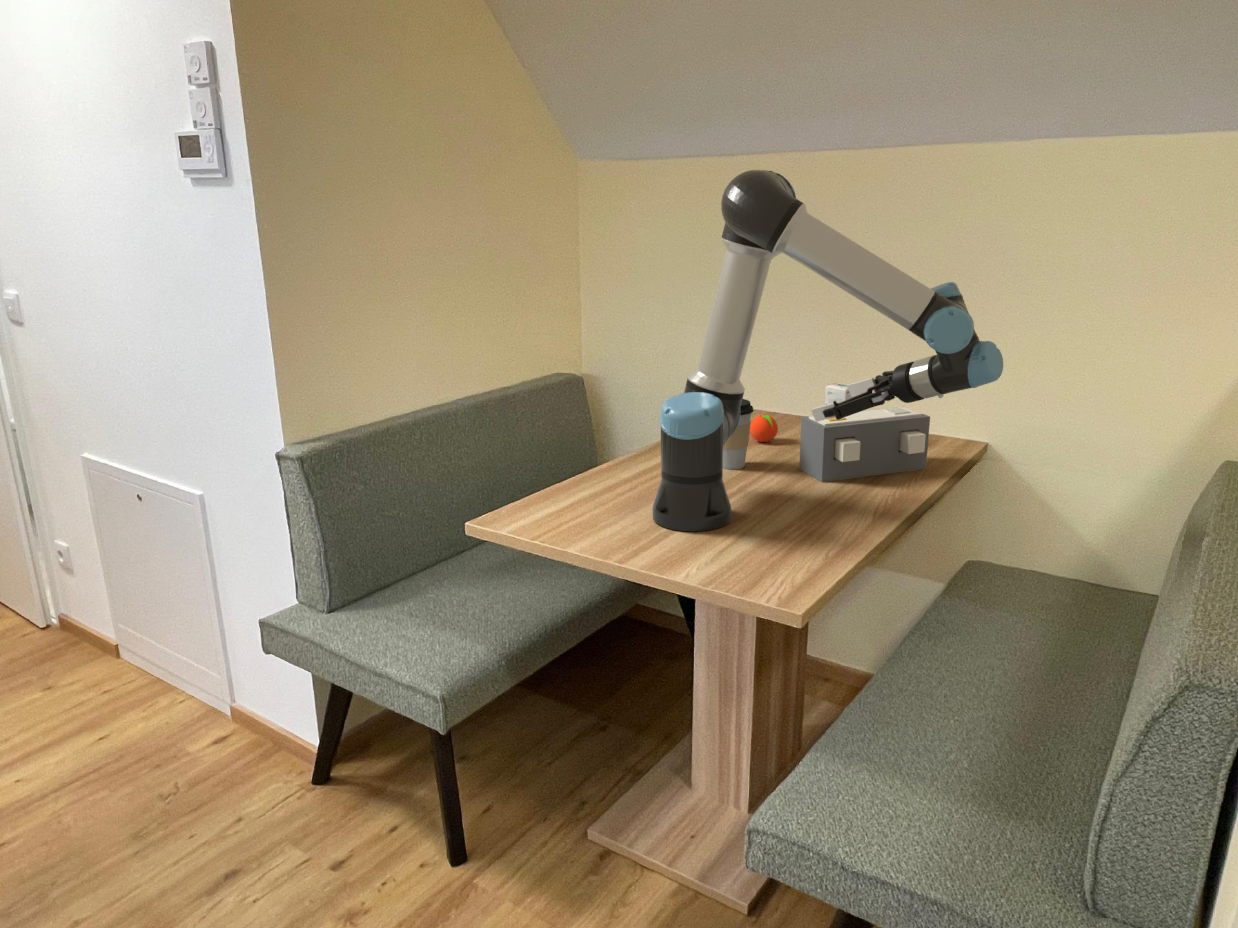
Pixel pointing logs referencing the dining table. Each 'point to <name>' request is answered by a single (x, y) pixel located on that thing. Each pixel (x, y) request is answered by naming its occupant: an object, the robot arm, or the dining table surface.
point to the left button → (846, 449)
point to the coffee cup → (738, 440)
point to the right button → (912, 441)
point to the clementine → (763, 428)
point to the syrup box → (836, 393)
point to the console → (862, 444)
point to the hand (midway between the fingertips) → (832, 402)
